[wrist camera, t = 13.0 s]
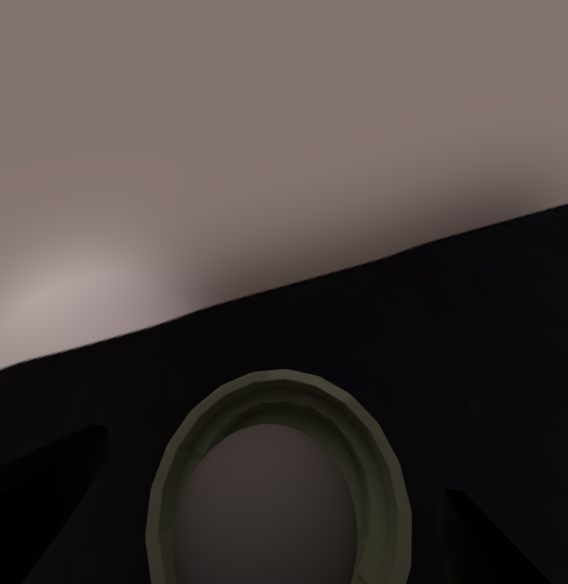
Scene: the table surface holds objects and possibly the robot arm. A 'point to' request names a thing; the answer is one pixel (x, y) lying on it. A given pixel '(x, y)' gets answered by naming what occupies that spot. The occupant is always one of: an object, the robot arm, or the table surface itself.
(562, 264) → the table surface
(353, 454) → the bowl
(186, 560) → the lightbulb
